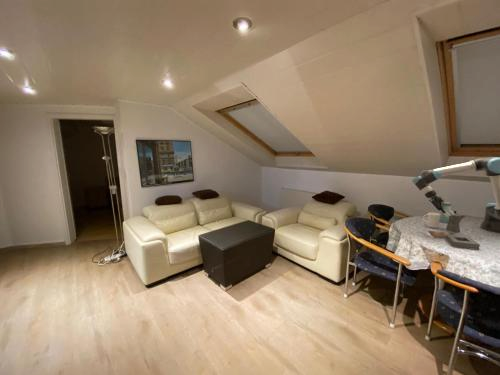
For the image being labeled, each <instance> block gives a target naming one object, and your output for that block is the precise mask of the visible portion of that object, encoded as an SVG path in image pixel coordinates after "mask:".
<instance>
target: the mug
mask: <svg viewBox="0 0 500 375" xmlns="http://www.w3.org/2000/svg"><path fill="white" fill-rule="evenodd" d="M426 216H427V220H426V219H425V218H424V217H426ZM422 219H423V221H424V222H426V226H427V227H429V228H434V229H438V228H439V227H440V222H439V220H440V213H437V212H428V213H427V214H424V215H423V217H422Z"/></svg>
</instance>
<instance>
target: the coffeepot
mask: <svg viewBox="0 0 500 375" xmlns="http://www.w3.org/2000/svg"><path fill="white" fill-rule="evenodd" d="M453 213H454V215H452V216H449V222H448V223H446V227H445V230H446V232H449V233H453V234H455V233H458V234H459V233H460V232H461V230H460V228H461V227H460V223H461V220H463V219H464V218H466V216H465V215H463V214H461V213H458V212H457V210H454V211H453Z"/></svg>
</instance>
